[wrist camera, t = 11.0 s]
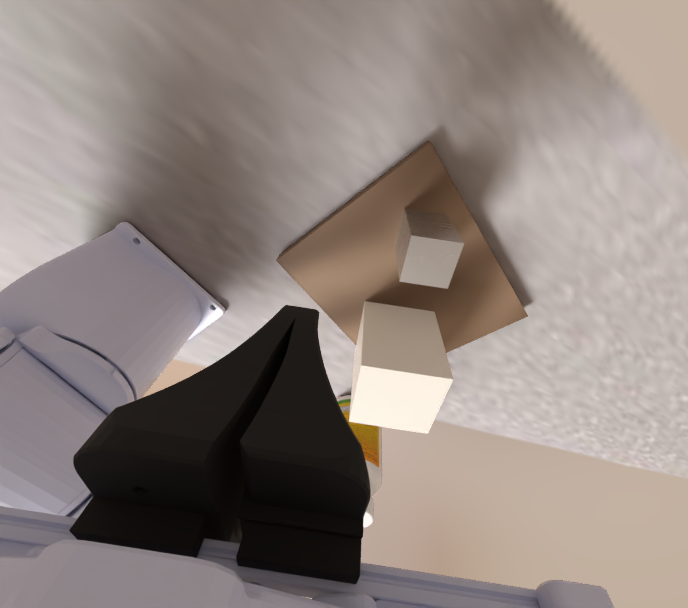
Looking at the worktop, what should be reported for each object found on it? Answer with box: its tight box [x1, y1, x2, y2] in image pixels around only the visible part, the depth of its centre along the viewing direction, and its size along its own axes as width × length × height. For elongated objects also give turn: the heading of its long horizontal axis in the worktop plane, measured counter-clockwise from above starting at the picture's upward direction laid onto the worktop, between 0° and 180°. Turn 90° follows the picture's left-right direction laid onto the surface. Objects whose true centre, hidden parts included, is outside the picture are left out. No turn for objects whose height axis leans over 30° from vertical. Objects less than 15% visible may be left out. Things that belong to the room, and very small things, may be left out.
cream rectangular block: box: [349, 301, 453, 434], centre depth 21 cm, size 5×5×7 cm
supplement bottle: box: [337, 395, 382, 528], centre depth 27 cm, size 5×5×10 cm
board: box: [276, 141, 528, 353], centre depth 22 cm, size 14×12×1 cm
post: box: [395, 208, 464, 289], centre depth 17 cm, size 3×3×4 cm
